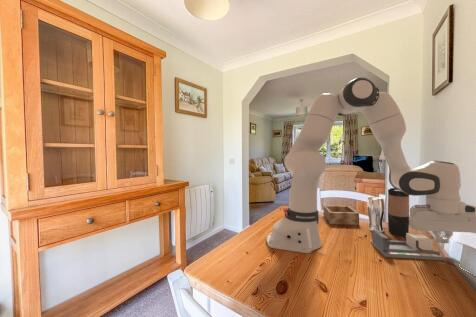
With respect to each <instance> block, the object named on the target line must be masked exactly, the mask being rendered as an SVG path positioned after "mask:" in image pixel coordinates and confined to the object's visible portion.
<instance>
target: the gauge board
mask: <svg viewBox="0 0 476 317" xmlns="http://www.w3.org/2000/svg"><path fill="white" fill-rule="evenodd" d="M370 244H371V245H372V246H373V247H374V248H375V249H376V250H378V252H379V253H381V254H382V256H384V257H385V258H396V259H397V258H398V259H400V258H401V259H413V260H431V261H444V260H445V259H444V257H445V256H443V255H441V254H440V251H439V249H438V250H434V249H433V250H423V251H420V250H418V249H413V248H411V247H410V246H408V245H407V244H406V240H390V239H389V252H383V248H382V250H381V249H380V248H379V247H378V246H376V245H375V244H374V242H373V239H372V240H370Z"/></svg>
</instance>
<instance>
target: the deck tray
mask: <svg viewBox="0 0 476 317" xmlns="http://www.w3.org/2000/svg"><path fill="white" fill-rule="evenodd" d="M322 207H323V210H322V211H323V213H322V214H323V215H324V217H323V218H325V219H326V221H327V220H328V221H327V222H328V223H329V224H330V225H350V226H351V225H354V226H359V225H360V213H359V212H358V211H356V210H355V209H354V208H352V207H351V206H350V205H322Z"/></svg>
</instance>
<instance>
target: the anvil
mask: <svg viewBox="0 0 476 317" xmlns="http://www.w3.org/2000/svg"><path fill="white" fill-rule="evenodd" d="M372 240H373V242H374V244H375V245H376V246H378V247H379V248H380V249H381V250H382V248H383V252H389V240H390V237H388V236H387V235H386V234H385V233H383V232H380V231H379V230H373V231H372Z"/></svg>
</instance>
